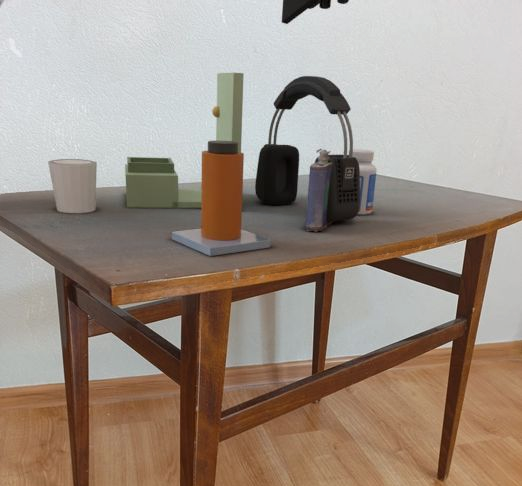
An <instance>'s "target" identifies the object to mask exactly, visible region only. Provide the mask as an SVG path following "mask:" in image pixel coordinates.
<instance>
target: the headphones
mask: <svg viewBox="0 0 522 486" xmlns="http://www.w3.org/2000/svg"><path fill="white" fill-rule="evenodd" d="M309 96H312V97H314V98H316V99H317V100H318V101H321V102H323V104H324V105H325V107H326V109H327V111H328V112H329V114H330V115H336V116H337V118H338V119H339V122H340V126H341V129H342V134H343V136H342V137H343V154H328V157H329V160H328V163H330V162H331V163H333V166H332V170H331V176H330V184H329V194H328V204H327V221H328V222H332V223H334V222H344V221H350V220H353V219H354V218H356V217H357V216H358V215H357V214H358V211H359V208H360V169H359V163H358V160H357V159H356V158H355V157H352V154H353V149H354V136H353V131H352V130H353V129H352V125H351V122H350V119H349V116H348V113H349V112H350V111H351V110H352V109H351V106H350V104H349V102H348V101H347V99H346V97H345V96H344V95H343V94H342V92H341V89H340V88H339V87H338V86H337V85H336V84H335V83H334V82H333V81H331V80H330V79H327V78H326V77H322V76H317V75H316V76H315V75H303V76H302V75H301V76H298V77H297V78H294V79H293V80H291V81H290V82H289V83H288V84H287V85H285V86H284V88H283V90H281V92H280V93H279V94H278V95H277V97H276V99H275V100H274V102H273V106H274V108H275V111H274V113H273V115H272V119H271V122H270V126H269V131H268V141H267V142H268V143H265V144H264V145H263V146H262V147H261V148H260V150H259V154H258V161H257V168H256V176H255V184H254V191H255V195H256V198H257V199H258V200H259V201H260V202H261V203H263V204H265V205H271V206H278V205H289V204H290V205H291V204H292V203H294V202H295V201H296V199H297V195H298V186H299V185H298V184H299V171H300V152H299V151H300V150H299V149H298V147H296V146H294V145H290V144H277V137H278V130H279V127H280V126H279V125H280V122H281V119H282V116H283V114H284V112H285V111H287V110H288V111H291V110H292V109H293V108H294V107H295V105H296V103H297V102H298V101H299V100H301V99H305V98H306V97H309ZM278 114H279V115H278ZM276 118H277V119H276ZM344 120H345V121H344ZM275 121H276V122H275ZM345 123H346V124H345ZM274 124H275V127H274ZM346 126H347V128H346ZM273 129H274V131H273ZM347 130H348V131H347ZM347 132H348V133H347ZM272 137H273V143H272ZM348 138H349V139H348ZM348 140H349V141H348ZM348 142H349V150H348ZM318 157H319V156H317V157H316V158H315V160H314V163H316V162H318Z"/></svg>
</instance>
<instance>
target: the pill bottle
mask: <svg viewBox="0 0 522 486" xmlns="http://www.w3.org/2000/svg"><path fill="white" fill-rule="evenodd" d="M374 154H375V152H374V150H371V149H358V148H357V149H356V148H355V149H354V148H353V154H352V157H355V158H356V159H357V160H358V163H359V169H360V208H359V211H358V214H357V215H356V216H361V215H370V214H371V213H372V212H373V206H374V199H375V189H376V182H377V181H376V179H377V167H376V166H375V165H374V164H373V161H374V156H375V155H374Z"/></svg>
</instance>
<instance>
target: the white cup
mask: <svg viewBox="0 0 522 486" xmlns="http://www.w3.org/2000/svg"><path fill="white" fill-rule="evenodd" d="M47 163H48V169H49V174H50V180H51V184H52V190H53V195H54V201H55V206H56V211H57V212H59V213H64V214H84V213H85V214H87V213H91V212H94V211H96V209H97V208H96V205H97V204H96V203H97V173H98V172H97V171H98V170H97V169H98V168H97V165H98V163H97V161H95V160H89V159H83V158H59V159H51V160H48V161H47Z"/></svg>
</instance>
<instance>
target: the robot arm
mask: <svg viewBox="0 0 522 486" xmlns="http://www.w3.org/2000/svg"><path fill="white" fill-rule="evenodd" d="M349 1H350V0H336V2H337V3H338V4H339V5H346V4H348V3H349ZM4 2H5V0H0V8H1V7H2V5H3V4H4ZM331 3H332V0H282V10H281V23H282V24H284V25H289V23H291V22H292V21H294V20H295V19H297V18H298V17H299V16H300V15H302V14H304V12H306V11H307V10H308V9H309V10H311V9H315V8H316V7H317V6H318V5H319V6H318V7H319V8H320V9H322V10H328V9H331V5H332V4H331Z"/></svg>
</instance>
